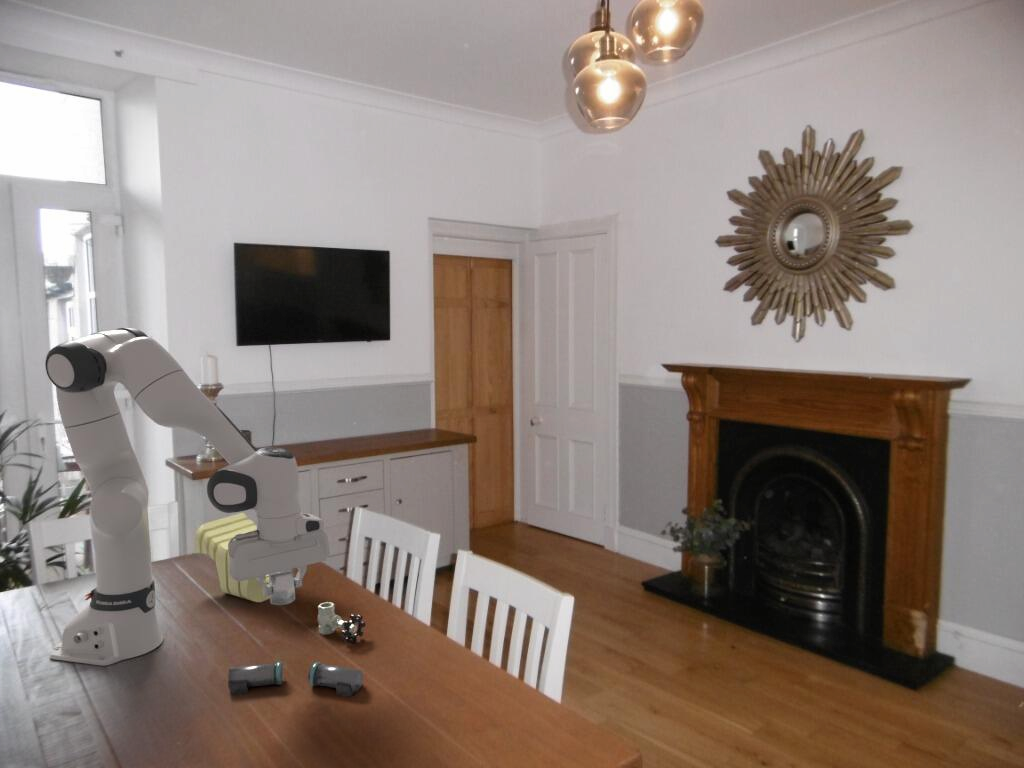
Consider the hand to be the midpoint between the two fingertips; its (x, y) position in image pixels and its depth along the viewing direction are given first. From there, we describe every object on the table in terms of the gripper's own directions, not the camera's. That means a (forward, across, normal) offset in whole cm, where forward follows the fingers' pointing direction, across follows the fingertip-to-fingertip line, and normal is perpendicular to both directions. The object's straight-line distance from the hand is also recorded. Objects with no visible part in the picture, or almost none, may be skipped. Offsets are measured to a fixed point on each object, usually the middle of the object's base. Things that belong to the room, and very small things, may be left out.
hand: (282, 590), depth 151 cm
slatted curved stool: (+18, +10, +48) cm, 52 cm away
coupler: (+2, 0, 0) cm, 2 cm away
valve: (+18, +16, +9) cm, 26 cm away
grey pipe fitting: (+18, -7, -2) cm, 19 cm away
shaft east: (+18, +5, -13) cm, 23 cm away
